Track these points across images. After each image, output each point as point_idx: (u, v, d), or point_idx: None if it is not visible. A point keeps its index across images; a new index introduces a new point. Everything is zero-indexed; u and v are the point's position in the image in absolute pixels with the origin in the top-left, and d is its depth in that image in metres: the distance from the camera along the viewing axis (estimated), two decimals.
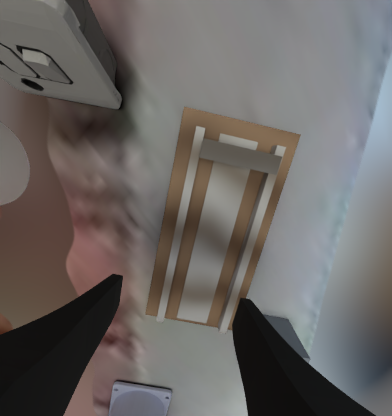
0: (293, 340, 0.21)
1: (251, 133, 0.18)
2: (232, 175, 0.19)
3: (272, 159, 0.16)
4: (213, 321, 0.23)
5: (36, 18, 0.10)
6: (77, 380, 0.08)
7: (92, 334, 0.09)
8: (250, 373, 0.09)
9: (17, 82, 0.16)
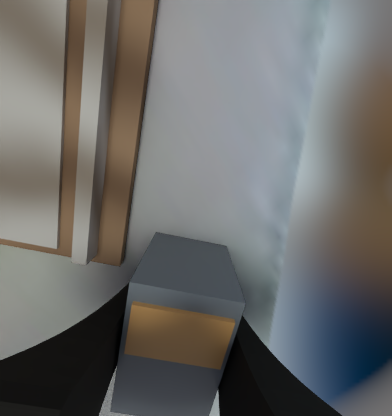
0: (219, 272, 0.09)
1: None
2: None
3: None
4: None
5: None
6: (108, 385, 0.08)
7: (120, 339, 0.09)
8: None
9: None
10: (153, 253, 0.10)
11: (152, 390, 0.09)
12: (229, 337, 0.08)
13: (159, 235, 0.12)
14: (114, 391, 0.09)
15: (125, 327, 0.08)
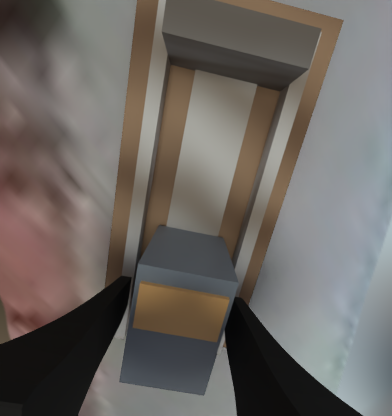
0: (216, 258, 0.10)
1: None
2: (227, 96, 0.11)
3: (302, 35, 0.08)
4: None
5: None
6: (89, 382, 0.08)
7: (103, 336, 0.09)
8: (240, 370, 0.09)
9: None
10: (157, 241, 0.11)
11: (156, 362, 0.10)
12: (224, 313, 0.09)
13: (162, 227, 0.13)
14: (123, 363, 0.10)
15: (133, 304, 0.09)
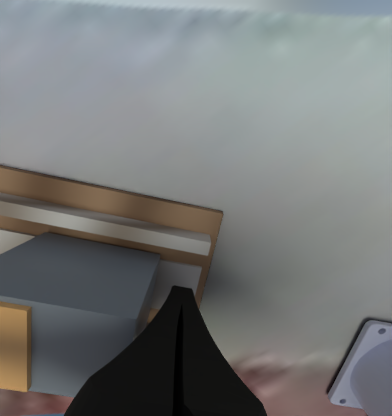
0: None
1: None
2: None
3: None
4: (200, 254, 0.12)
5: None
6: None
7: None
8: None
9: None
10: None
11: (84, 369, 0.08)
12: None
13: None
14: None
15: None
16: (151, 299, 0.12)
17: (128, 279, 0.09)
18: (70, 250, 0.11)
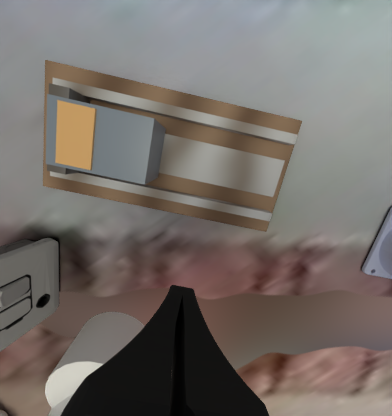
0: None
1: None
2: None
3: (53, 94, 0.15)
4: (284, 151, 0.18)
5: None
6: None
7: None
8: (175, 360, 0.09)
9: (44, 310, 0.21)
10: None
11: (123, 156, 0.14)
12: (69, 103, 0.13)
13: None
14: (126, 180, 0.14)
15: (76, 168, 0.14)
16: (159, 162, 0.18)
17: None
18: None
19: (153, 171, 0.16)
